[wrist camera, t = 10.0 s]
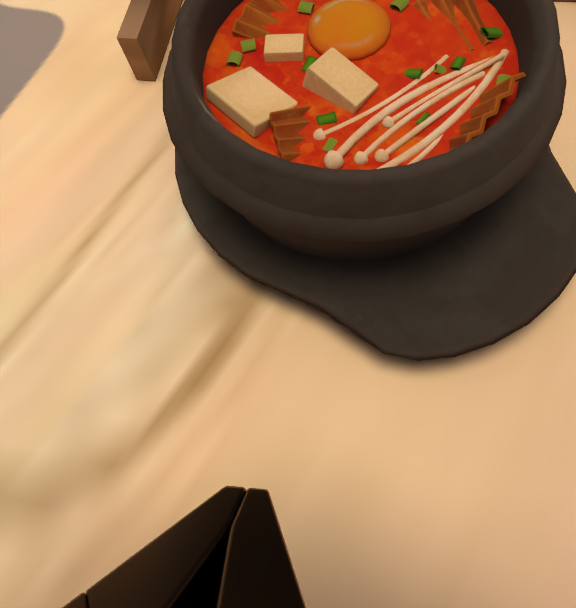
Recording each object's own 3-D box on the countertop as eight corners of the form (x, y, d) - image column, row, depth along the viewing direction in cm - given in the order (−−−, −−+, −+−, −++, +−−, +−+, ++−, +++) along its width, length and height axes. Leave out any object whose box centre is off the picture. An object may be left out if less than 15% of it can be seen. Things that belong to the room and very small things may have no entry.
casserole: (661, 229, 24) (822, 100, 16) (350, 455, 21) (358, 434, 13) (352, -37, 32) (357, -206, 24) (105, 102, 30) (24, -36, 22)
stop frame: (664, 112, 26) (704, 66, 23) (137, 79, 30) (116, 37, 27) (649, -11, 29) (683, -64, 26) (173, -25, 33) (158, -72, 30)
